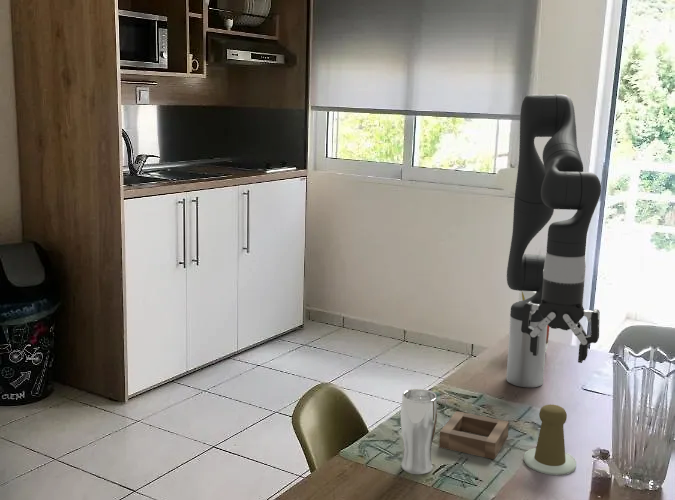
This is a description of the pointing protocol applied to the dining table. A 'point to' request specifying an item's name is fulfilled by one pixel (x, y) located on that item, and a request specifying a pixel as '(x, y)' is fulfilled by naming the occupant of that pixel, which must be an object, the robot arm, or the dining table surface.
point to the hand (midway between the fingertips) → (557, 358)
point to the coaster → (546, 469)
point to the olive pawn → (551, 436)
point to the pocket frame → (470, 442)
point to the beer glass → (418, 429)
